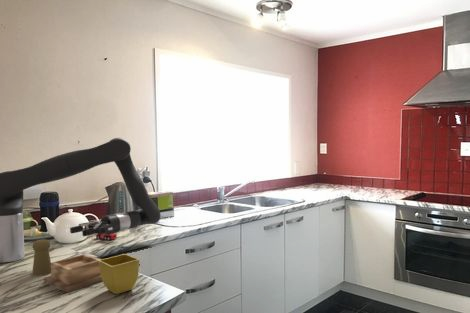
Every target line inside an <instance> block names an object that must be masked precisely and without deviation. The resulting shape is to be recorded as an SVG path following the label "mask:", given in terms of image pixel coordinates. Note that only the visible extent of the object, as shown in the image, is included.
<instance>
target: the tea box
mask: <svg viewBox="0 0 470 313" xmlns="http://www.w3.org/2000/svg"><path fill="white" fill-rule="evenodd" d="M148 195H149V197H150V198H151V199H152V200H153V201H154V203H155V204H156V205H157V207H158V208H159V210H160V215H161V216H160V219H163V218H169V217H174V216H175V209H174V208H175V207H174V192H173V191H168V190H160V191H153V192H148Z"/></svg>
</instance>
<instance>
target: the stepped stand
mask: <svg viewBox="0 0 470 313" xmlns="http://www.w3.org/2000/svg"><path fill="white" fill-rule="evenodd" d="M99 260H102V258H101V259H100V258H98V257H94V256H91V255H88V254H79V255H75V256H72V257H68V258H63V259H60V260H56V261H52V262H51V273H50V275H49V276H45V277H43V283H44V284H47V285H50V286H52V287H53V288H56V289H58V290H61V291H62V292H64V293H68V294H69V293H70V292H73V291H76V290H79V289H82V288H85V287H89V286H91V285H93V284H97V283H100V282H103V281H102V278H101V273H100V268H99V262H98V261H99Z"/></svg>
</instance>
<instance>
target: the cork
mask: <svg viewBox="0 0 470 313" xmlns="http://www.w3.org/2000/svg"><path fill="white" fill-rule="evenodd" d="M50 247H51V242H50V241H49V239H44V238H43V239H42V238H41V239H38V240H35V241H34V242H33V243H32V250H33V251H34V256H33V264H32V276H36V277H37V276H38V277H39V276H46V275H50V274H51V263H52V262H51V256H50V252H49V248H50Z"/></svg>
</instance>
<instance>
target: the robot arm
mask: <svg viewBox="0 0 470 313" xmlns="http://www.w3.org/2000/svg"><path fill="white" fill-rule="evenodd" d="M131 148H132V147H131V145H130V143H129V142H128V141H127V140H126V139H124V138H122V137H114V138H112V139H110V140H109V141H107V142H105V143H102V144H99V145H97V146H94V147H91V148H90V147H89V148H86V149H85V148H84V149H78V150H75V151H70V152H66V153H62V154H59V155H56V156H52V157H50V158H47V159H44V160H43V161H40V162H38V163H35V164H33V165H30V166H28V167H25V168H20V169H16V170H11V171H10V170H8V171H7V170H6V171H1V172H0V263H10V262H16V261H20V260H22V259H24V258H25V237H24V236H25V234H24V211H23V210H24V209H23V208H24V190H26V189H29V188H32V187H34V186H38V185H42V184H47V183H52V182H55V181H60V180H63V179H68V178H69V177H72V176H76V175H78V174H81V173H84V172H86V171H88V170H90V169H91V170H92V169H93V168H95V167H98V166H101V165H105V164H109V163H115V165H116V166H117V168H118V171H119V172H120V175H121V176H122V179H123V181H124V184H125V186H126V189H127V191H128V194H129V196H130V198H131V200H132V203H133V204H134V205H135V206H137V207H140V208H139V209H136V210H131V211H125V212H118V213H117V212H116V213H112V214H108V215H106V214H105V215H104V216H102V217H101V219H100V221H99V220H98V221H87V222H81V223H79V224H78V225H75V226H72V227H70V228H69V229H70V231H69V232H70V234H75V233H80V232H81V234H82V237H87V236H88V237H89V236H92V235H95V236H96V234H98V235H101V234H105V235H110V234H118V233H121V232H124V231H126V230H130V229H134V228H137V227H139V226H143V225H153V224H157V223H159V221H160V220H161V218H160V216H161V215H160V210H159V208H158V207H157V205H156V204H155V203H154V201H153V200H152V199H151V198H150V197H149V195H148V193H149V192H148V190H147V188H146V186H145V184H144V182H143V180H142V178H141V176H140V175H139V173H138V171H137V170H136V168H135V166H134V163H133V160H132V157H131Z"/></svg>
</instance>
